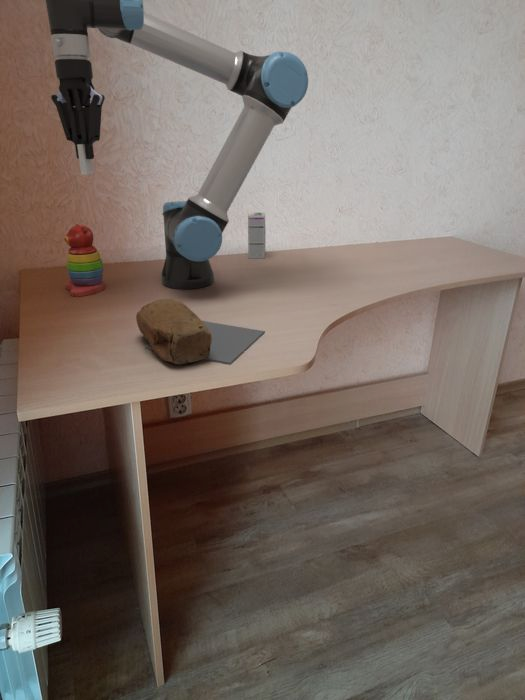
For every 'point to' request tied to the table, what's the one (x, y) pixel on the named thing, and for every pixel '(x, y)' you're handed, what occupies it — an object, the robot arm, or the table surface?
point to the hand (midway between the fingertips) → (87, 173)
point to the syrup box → (256, 235)
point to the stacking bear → (83, 263)
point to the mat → (228, 341)
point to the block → (174, 331)
